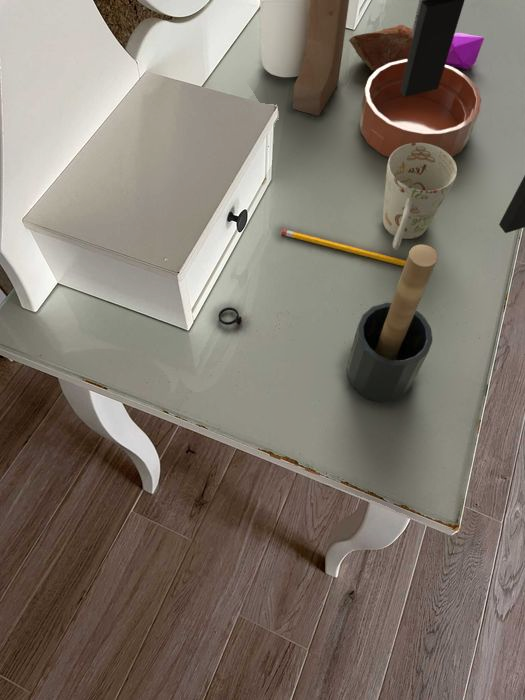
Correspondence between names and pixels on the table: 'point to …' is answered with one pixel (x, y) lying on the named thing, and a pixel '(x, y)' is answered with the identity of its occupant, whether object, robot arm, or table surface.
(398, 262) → the pencil
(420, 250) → the stirring stick
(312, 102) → the wooden block
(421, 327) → the utensil pot
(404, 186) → the mug
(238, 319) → the ring
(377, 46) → the fossil
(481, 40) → the crystal
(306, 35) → the cup
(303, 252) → the table surface
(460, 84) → the bowl
